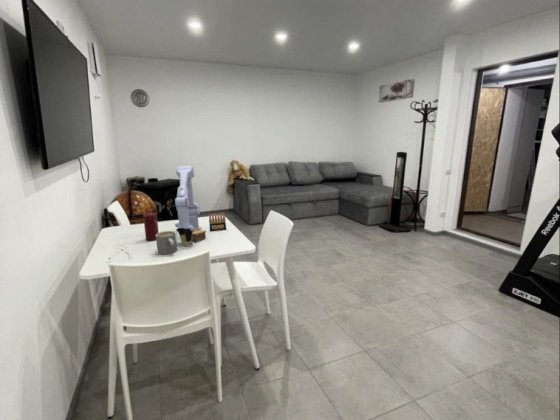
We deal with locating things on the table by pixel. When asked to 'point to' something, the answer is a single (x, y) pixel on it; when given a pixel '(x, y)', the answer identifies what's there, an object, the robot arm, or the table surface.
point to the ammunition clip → (216, 224)
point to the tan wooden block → (184, 240)
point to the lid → (197, 231)
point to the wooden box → (198, 237)
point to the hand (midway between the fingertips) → (186, 240)
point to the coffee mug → (166, 242)
